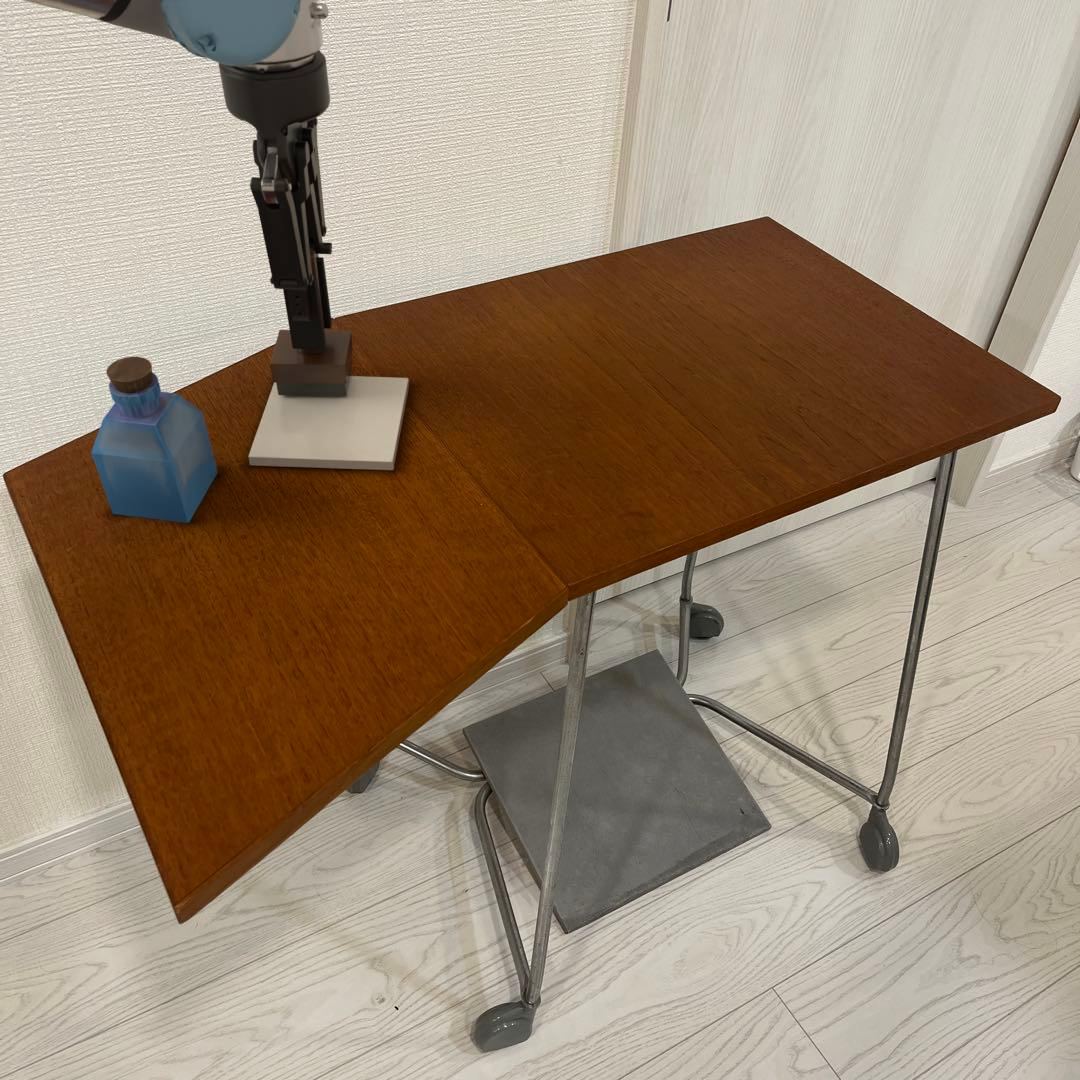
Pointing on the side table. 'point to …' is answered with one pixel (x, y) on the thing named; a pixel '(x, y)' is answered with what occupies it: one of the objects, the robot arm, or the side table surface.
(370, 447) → the tile
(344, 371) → the stamp
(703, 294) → the side table surface
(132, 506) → the perfume bottle
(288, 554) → the side table surface
